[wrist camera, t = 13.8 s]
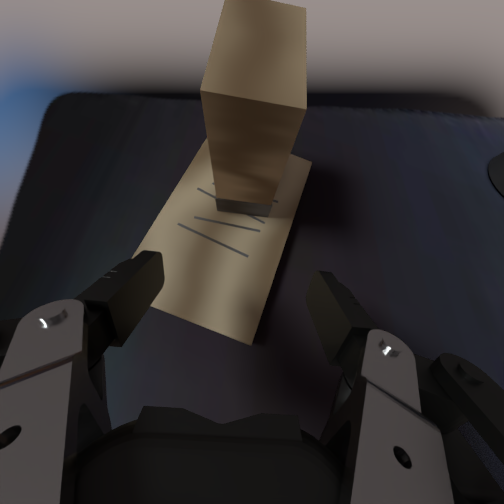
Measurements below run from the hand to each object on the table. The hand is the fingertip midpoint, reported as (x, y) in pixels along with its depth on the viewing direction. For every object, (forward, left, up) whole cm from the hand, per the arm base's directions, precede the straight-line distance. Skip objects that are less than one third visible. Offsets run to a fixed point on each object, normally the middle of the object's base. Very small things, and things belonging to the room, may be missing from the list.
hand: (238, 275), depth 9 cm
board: (+3, -6, -7) cm, 10 cm away
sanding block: (+3, -11, -6) cm, 13 cm away
